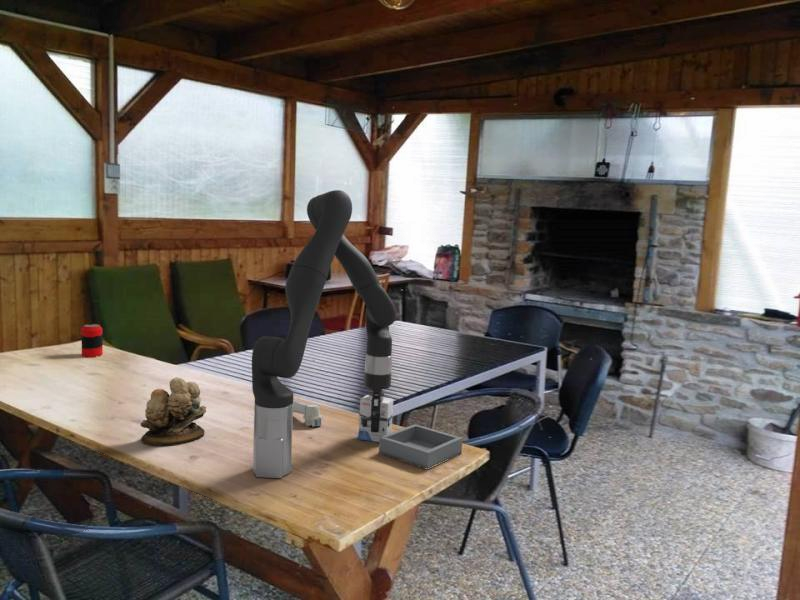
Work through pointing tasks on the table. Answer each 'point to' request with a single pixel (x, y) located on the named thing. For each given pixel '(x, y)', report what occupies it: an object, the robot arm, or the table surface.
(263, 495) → the table surface
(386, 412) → the ink box
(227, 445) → the table surface
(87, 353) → the soda can
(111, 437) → the table surface
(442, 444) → the walled crate
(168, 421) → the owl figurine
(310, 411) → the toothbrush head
